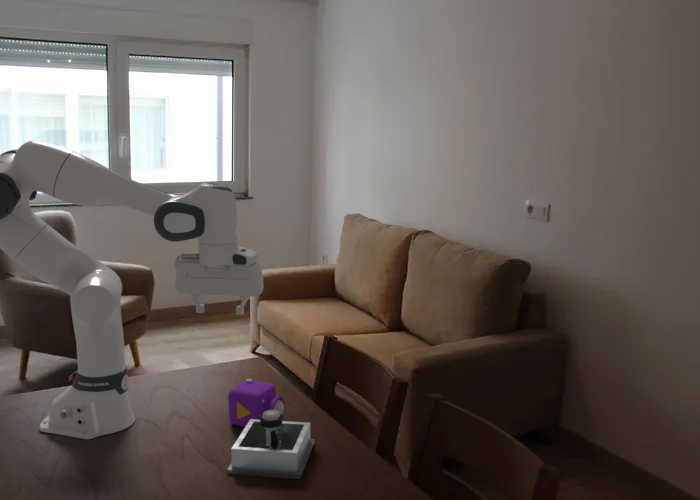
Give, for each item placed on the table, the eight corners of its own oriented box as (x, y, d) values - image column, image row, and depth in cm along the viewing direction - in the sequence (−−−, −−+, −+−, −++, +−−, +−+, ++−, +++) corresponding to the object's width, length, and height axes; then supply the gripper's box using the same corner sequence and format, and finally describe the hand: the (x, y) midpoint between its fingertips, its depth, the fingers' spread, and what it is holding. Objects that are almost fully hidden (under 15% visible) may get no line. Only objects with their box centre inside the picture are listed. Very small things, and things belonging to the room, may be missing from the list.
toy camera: (278, 434, 169) (277, 395, 167) (225, 429, 171) (224, 391, 170) (290, 416, 179) (290, 379, 177) (240, 411, 182) (239, 375, 180)
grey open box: (227, 474, 149) (226, 450, 148) (248, 439, 166) (248, 417, 165) (300, 479, 147) (299, 455, 146) (314, 443, 164) (314, 421, 163)
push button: (269, 445, 161) (269, 404, 159) (290, 449, 159) (290, 408, 157) (255, 457, 155) (254, 415, 153) (276, 462, 153) (276, 419, 151)
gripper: (169, 255, 156) (172, 315, 159) (257, 258, 154) (259, 318, 156) (179, 250, 163) (182, 307, 165) (264, 253, 160) (265, 311, 163)
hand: (220, 313), depth 161 cm, fingers open, 8 cm apart
